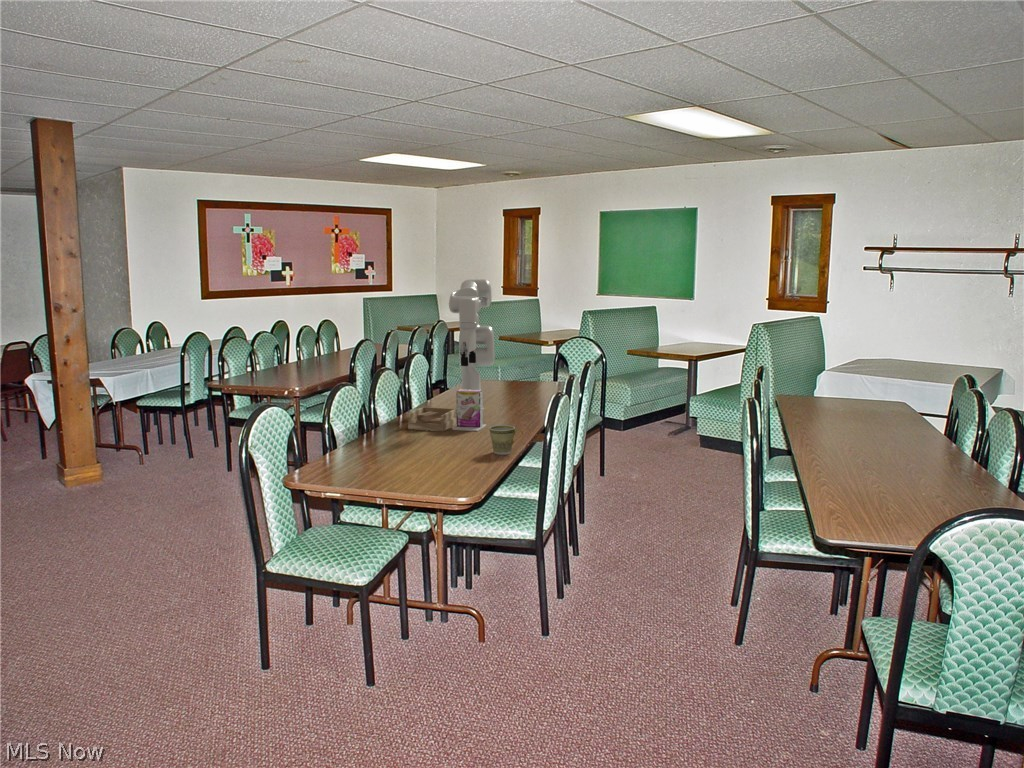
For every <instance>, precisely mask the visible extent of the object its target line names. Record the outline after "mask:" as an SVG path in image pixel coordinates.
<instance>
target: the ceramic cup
mask: <svg viewBox="0 0 1024 768" xmlns="http://www.w3.org/2000/svg"><path fill="white" fill-rule="evenodd" d="M488 429H489V434H490V439H491V444H492V450H493V454H494V455H498V456H499V455H501V456H506V455H510V454H511V453H512V447H513V445H514V444H515V443H516V442H517V440H518V439H520V438H521V437H523V435H524V433H523V431H522V429H516V426H513V425H510V424H509V425H508V424H506V425H505V424H499V425H492V426H489V428H488ZM518 432H520V433H521V435H520V436H518V437H517V438H516V439H515V440H514V437H515V435H516V433H518Z"/></svg>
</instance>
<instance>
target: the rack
mask: <svg viewBox="0 0 1024 768" xmlns="http://www.w3.org/2000/svg"><path fill="white" fill-rule="evenodd" d="M430 411H431V412H438V413H439V418H441V424H429V423H416V419H417V415H418V414H422V413H426V412H430ZM407 418H408V419H407V421H408V422H407V429H408V430H413V429H414V430H416V431H428V430H430V432H431V431H432V432H445V431H446V430H448V429H450V428H453V427H455V426H457V408H449V407H448V408H447V407H446V408H445V407H432V406H431V407H428V406H423V407H420V408H417V409H416V410H414V411H411V412H409V413H407Z"/></svg>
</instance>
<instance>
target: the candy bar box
mask: <svg viewBox="0 0 1024 768" xmlns="http://www.w3.org/2000/svg"><path fill="white" fill-rule="evenodd" d="M483 393H484V392H483V389H481V390H464V389H462V388H460V389H458V390H456V409H457V424H456V426H460V427H481V426H482V425H483V424H484V423H483V422H484V421H483V419H484V418H483V417H484V416H483V415H484V412H483V411H484V410H483V407H484V406H483V405H484V403H483V402H484V401H483V400H484V398H483V395H484V394H483Z"/></svg>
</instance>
